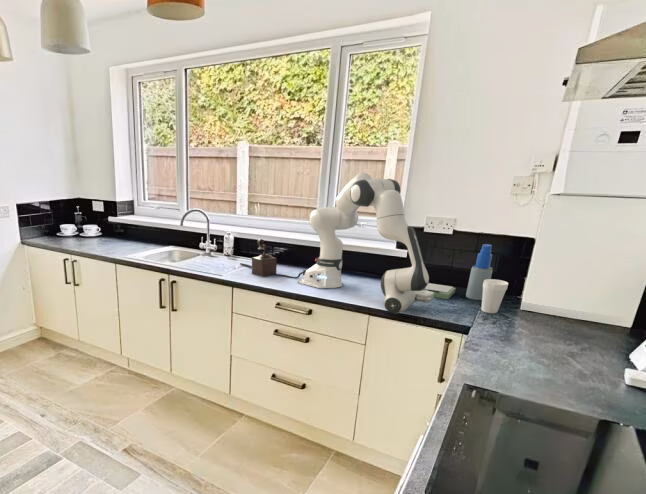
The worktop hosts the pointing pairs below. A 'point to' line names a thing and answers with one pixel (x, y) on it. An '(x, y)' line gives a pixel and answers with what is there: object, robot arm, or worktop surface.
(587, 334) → the worktop surface
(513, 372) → the worktop surface
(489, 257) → the spray bottle
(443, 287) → the scale
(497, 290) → the foam cup
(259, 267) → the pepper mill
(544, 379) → the worktop surface
